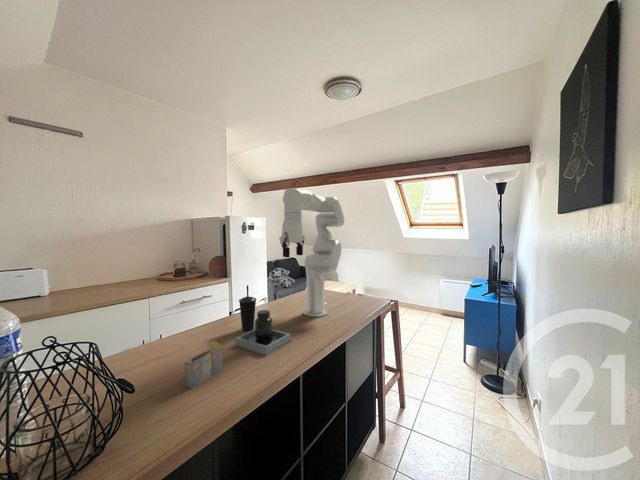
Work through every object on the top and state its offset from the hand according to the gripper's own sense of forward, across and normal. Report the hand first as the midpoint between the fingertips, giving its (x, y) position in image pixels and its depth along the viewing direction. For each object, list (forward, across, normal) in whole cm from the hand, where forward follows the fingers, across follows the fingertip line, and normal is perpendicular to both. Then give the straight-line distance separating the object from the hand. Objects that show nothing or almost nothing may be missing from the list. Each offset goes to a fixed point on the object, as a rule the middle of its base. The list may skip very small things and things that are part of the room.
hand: (293, 256), depth 115 cm
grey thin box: (+34, +44, -1) cm, 55 cm away
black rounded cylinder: (+34, +10, -18) cm, 39 cm away
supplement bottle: (+33, +17, -2) cm, 37 cm away
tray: (+33, +17, -2) cm, 37 cm away
